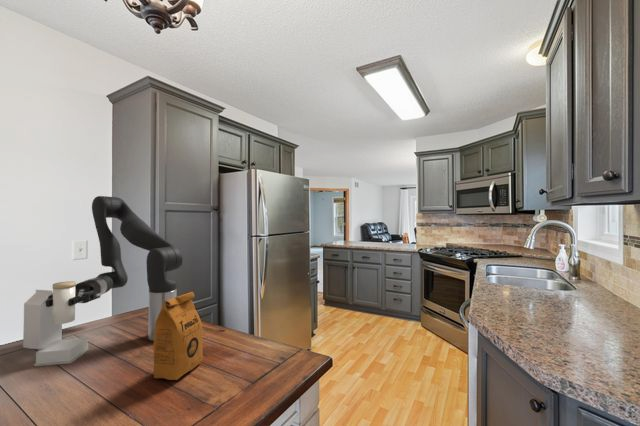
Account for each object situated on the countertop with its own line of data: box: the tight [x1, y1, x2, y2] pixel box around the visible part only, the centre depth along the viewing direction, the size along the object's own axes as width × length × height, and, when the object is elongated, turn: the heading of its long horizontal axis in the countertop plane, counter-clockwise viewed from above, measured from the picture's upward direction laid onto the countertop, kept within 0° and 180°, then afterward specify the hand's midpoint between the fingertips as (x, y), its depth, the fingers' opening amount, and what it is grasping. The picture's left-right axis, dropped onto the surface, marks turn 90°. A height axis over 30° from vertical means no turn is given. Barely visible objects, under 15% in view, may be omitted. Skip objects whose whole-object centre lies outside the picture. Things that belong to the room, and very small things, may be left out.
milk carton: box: [22, 289, 63, 350], centre depth 102 cm, size 7×7×19 cm
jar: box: [52, 280, 77, 325], centre depth 93 cm, size 6×6×12 cm
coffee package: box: [153, 291, 204, 381], centre depth 85 cm, size 10×12×22 cm
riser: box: [33, 337, 90, 367], centre depth 93 cm, size 10×10×4 cm
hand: (58, 303), depth 91 cm, fingers closed on jar, 5 cm apart
